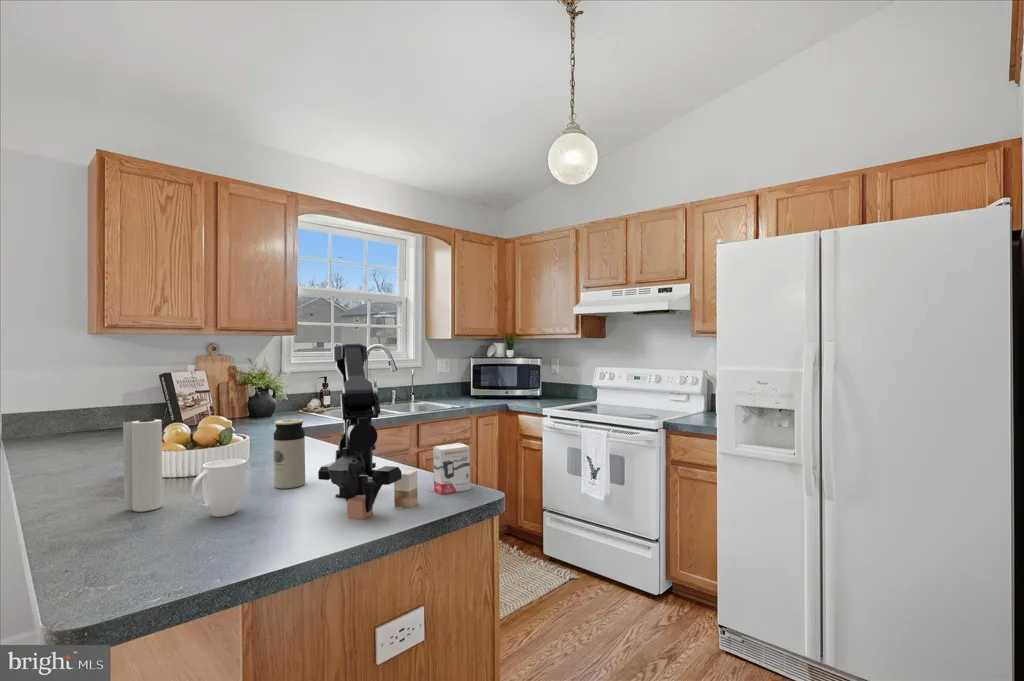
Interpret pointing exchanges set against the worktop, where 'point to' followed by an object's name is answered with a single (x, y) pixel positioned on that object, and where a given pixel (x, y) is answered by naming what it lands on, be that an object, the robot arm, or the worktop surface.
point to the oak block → (405, 498)
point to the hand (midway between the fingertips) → (360, 511)
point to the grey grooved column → (142, 465)
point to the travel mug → (289, 454)
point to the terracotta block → (357, 508)
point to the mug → (221, 486)
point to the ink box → (451, 468)
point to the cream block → (406, 481)
